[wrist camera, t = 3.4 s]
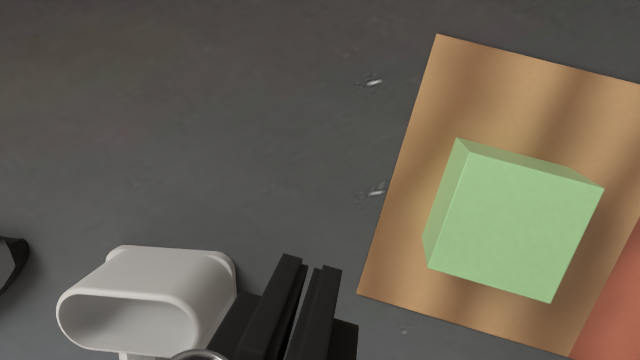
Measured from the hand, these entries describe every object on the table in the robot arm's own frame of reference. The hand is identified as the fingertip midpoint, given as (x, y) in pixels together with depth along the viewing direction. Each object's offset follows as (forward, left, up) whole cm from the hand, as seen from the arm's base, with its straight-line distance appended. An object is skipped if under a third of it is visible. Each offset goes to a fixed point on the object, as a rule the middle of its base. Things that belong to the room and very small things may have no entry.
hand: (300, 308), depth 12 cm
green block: (-9, 0, -17) cm, 20 cm away
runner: (-18, 0, -17) cm, 25 cm away
